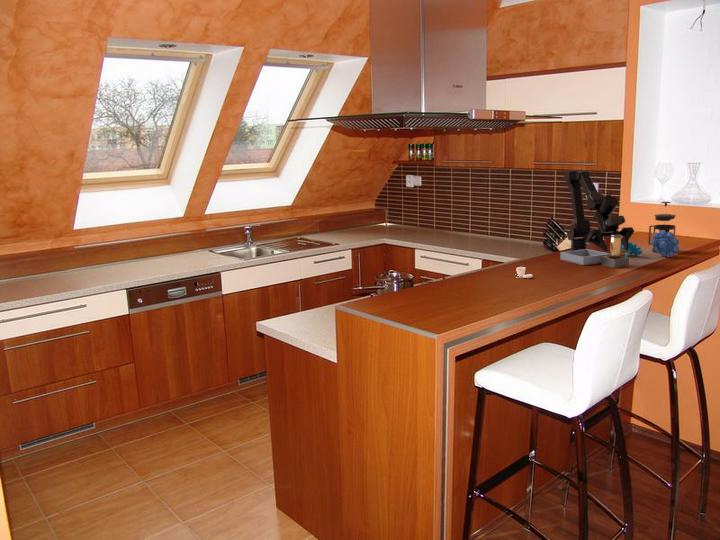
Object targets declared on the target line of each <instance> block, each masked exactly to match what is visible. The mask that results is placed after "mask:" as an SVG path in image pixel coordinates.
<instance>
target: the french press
mask: <svg viewBox="0 0 720 540" xmlns="http://www.w3.org/2000/svg"><path fill="white" fill-rule="evenodd" d="M671 203H672V201H662V202H660V204H664V207H665V208H664V213H659V214H654V217H655V218H654V220H655V221H659V222H664V223H663V224H654V225H652V224H651V225H649V227H648V229H649V230H648V245H652V250H651V252H653V253H656V254H660V252H656V251H655V250H654V247H655V245H653V244H652V243H651V240H652V239H655V238H654V233H656V230H658V231H659V232H658V233H659V234H660V231H661V230H665V231H666V232H667V233H668V232H670V230H673V234H674V238H676V227H677V226H676V225H675V224H666V222H670V221H671V220H674V219H675V218H676V217H677V215H676V214H671V213H667V207H668V204H671ZM652 227H653V232H652ZM652 233H653V236H652ZM651 237H653V238H652V239H651Z"/></svg>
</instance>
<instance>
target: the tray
mask: <svg viewBox="0 0 720 540" xmlns="http://www.w3.org/2000/svg"><path fill="white" fill-rule="evenodd" d="M559 253H560V255H559V256H560V258H559V259H560V261H563V262H568V263H573V264H575V265H580V266H589V265H596V264H601V257H604V256H610V252H609V253H608V252H605V251H599V250H594V249H588V248H586V249H583V250H575V251H571V250H568V251H560V252H559Z"/></svg>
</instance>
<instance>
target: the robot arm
mask: <svg viewBox="0 0 720 540" xmlns="http://www.w3.org/2000/svg"><path fill="white" fill-rule="evenodd" d="M563 178H564V181H565V182H564V183H565V185H566V186H567V187H568V189H569V191H570V199H571V206H572V217H573V220H572V222H571V224H570V230H569V232H568V233H567V234H566V235H567V240H568V241H570V251H575V250H583V249H587V243H586V241H587V242H588V243H591V244H594V245H595V246H597V247H598V248H600V249H601V250H602V251H603V252H605V253H608V248H607V245H606V242H605V240H604V238H605V237H606V238H611V235H612V234H620V235H621V243H622V245H623V246H624V248H625V249H626V250H628V243H629V241H630V240H629V239H631V238H632V235H633V234H634V233H635V229H634V228H633V227H631V226H628V227H627V226H625V227H622V229H621V230H619V228H620V227H619V226H620V225H621V226H622V225H623V224H625V223H626V218H625V216H624V215H619V216H611V214H613V213H614V211H615V210H616V208H617V207H618V205H619V199H618V198H616V197H615V196H612V194H609V193H608V194H605V196H604V195H603V194H602V193H601V192H599V191H598V190H597V188H596V186H595V184H594V182H593V180H592V178H591V176H590V172H589V171H588V170H582V169H573V170H572V169H570V170H569V169H568V170H566V172H565V173H564V174H563ZM582 190H583V192H584V194H585V196H586V207H587V209H588V210H589V211H590V212H592V211H593V212H594V214H593V217H592V220H595V221H596V223H597V225H598V226H597V228H596V229H591V222H590V220H589V219H587V218H586V217H585V211H584V202H583V193H582ZM618 230H619V231H618ZM623 246H622V247H623Z"/></svg>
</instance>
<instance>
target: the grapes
mask: <svg viewBox="0 0 720 540" xmlns="http://www.w3.org/2000/svg"><path fill="white" fill-rule="evenodd" d="M653 233H654V232H653ZM654 238H655V239H653V238H652V239H651V240H650V243H652V244H653V245H655V247H654V250H655V251H656V252H660V253H659V254H660V256H661V257H664V258H666V257H667V256H668V257H670V258H673V257H675V253H678V252H679V251H680V247H679V244H680V241H679V239H678V238H676V237H675V238H674V232H670V231H669V232H668V233H667V232H666V231H665V230H661V231H660V234H659V232H656V231H655V233H654ZM653 245H652V246H653ZM656 252H655V253H656Z"/></svg>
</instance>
